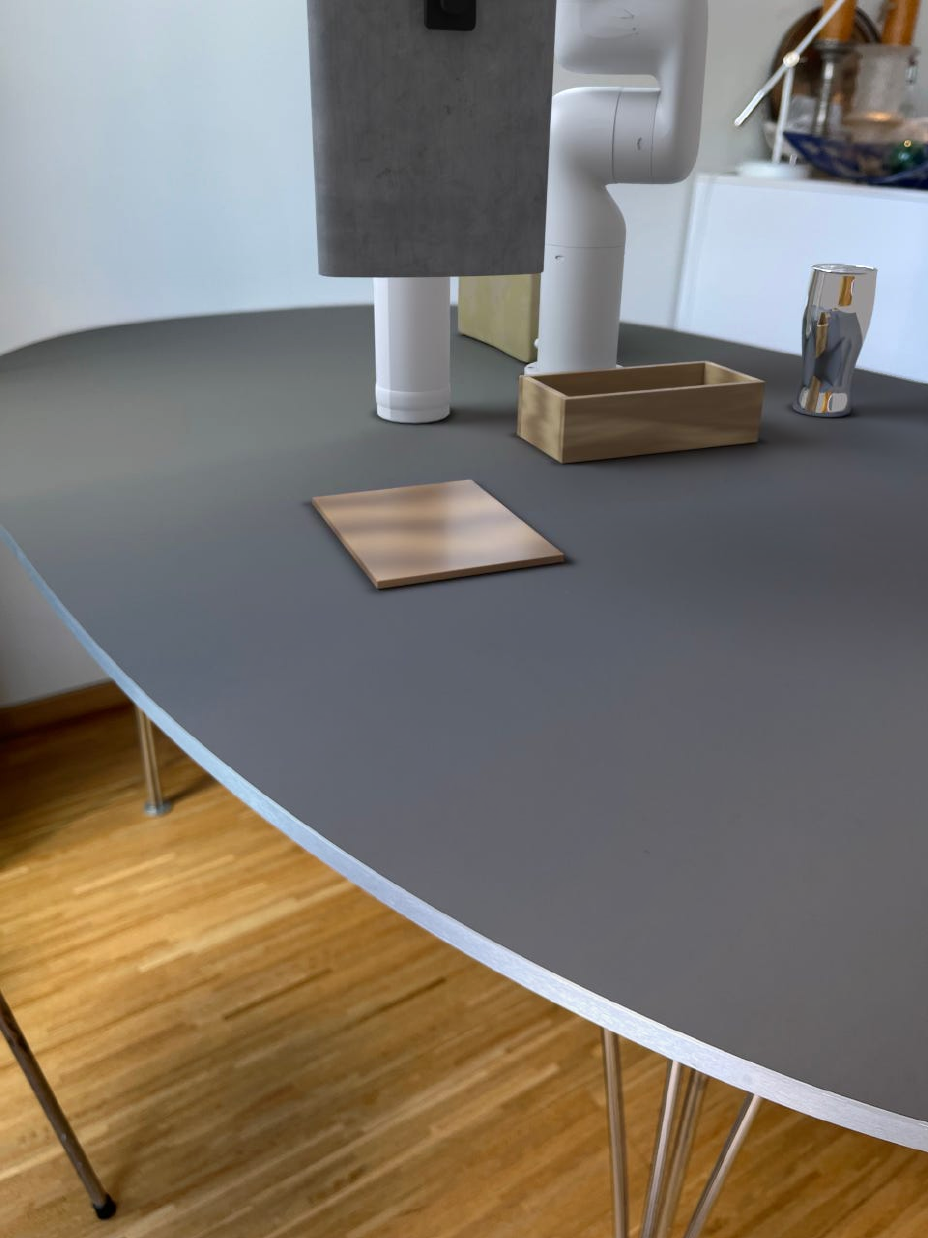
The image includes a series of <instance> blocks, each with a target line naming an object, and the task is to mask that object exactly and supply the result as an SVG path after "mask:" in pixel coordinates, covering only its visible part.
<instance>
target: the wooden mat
mask: <svg viewBox="0 0 928 1238" xmlns="http://www.w3.org/2000/svg"><path fill="white" fill-rule="evenodd" d="M311 504H312V505H313V506H314V508H315V509H316V511H317V512H318V513H319V514H320V516H321V517H322V518H323V520H324V521H325V523H326V524H327V525H328V526H329V527H330V529H331V530H332V532H333V533H334V534H335V535H336V537H337V538H338V539H339V541H340V542H341V543H342V545H343V546H344V547H345V549H346V550H347V551H348V552H349V554H350V555H351V556H352V558H353V559H354V560H355V561H356V563H357V564H358V565H359V567H360V568H361V570H362V571H363V572H364V573H365V575H366V576H367V577H368V578H369V580H370V581H371V582H372V584H373V585H374V586H375V588H376V589H377V590H382V589H388V588H395V587H401V586H408V585H415V584H421V583H430V582H435V581H442V580H449V579H457V578H463V577H469V576H477V575H483V574H484V575H485V574H489V573H496V572H503V571H509V570H516V569H517V570H519V569H525V568H530V567H531V568H532V567H537V566H544V565H550V564H558V563H564V562H565V554H564V553H563V552H562V551H561V550H559V549H558V548H557V547H556V546H555V545H553V544H552V543H551V542H549V541H548V540H547V539H546V538H544V537H543V536H542V535H541V534H539V533H538V532H537V531H536V530H535V529H533V528H532V527H531V526H530V525H529V524H527V523H526V522H524V521H523V520H522V519H521V518H519V516H517V515H516V514H515V513H513V512H512V511H511V510H509V508H507V507H506V506H504V505H503V504H502V503H501V502H500V501H499V500H497V499H496V498H495V497H493V496H492V495H491V494H490V493H489V492H487V491H486V490H485V489H484V488H482V487H481V486H480V485H478V484H477V483H476V482H474V480H472V479H462V480H453V481H445V482H434V483H427V484H419V485H417V484H416V485H410V486H401V487H400V486H399V487H393V488H383V489H377V490H376V489H375V490H374V489H373V490H365V491H357V492H356V491H355V492H347V493H340V494H339V493H338V494H330V495H321V496H313V497H312V498H311Z"/></svg>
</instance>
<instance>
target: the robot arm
mask: <svg viewBox="0 0 928 1238" xmlns="http://www.w3.org/2000/svg"><path fill="white" fill-rule="evenodd" d="M708 2H709V0H557V1H556V22H555V43H554V57H555V58H556V61H557V63H558V64H559V65H560V66H561V68H563V69H564V70H566V71H568V72H571V73H576V74H581V75H583V74H584V75H603V76H604V75H606V76H607V75H610V76H611V75H612V76H613V75H614V76H615V75H616V76H621V75H625V76H626V75H628V76H630V75H634V76H640V75H641V76H644V75H645V76H648V75H649V76H651V77H654V78H655V80H656V81H657V83H658V85H659V87H625V86H581V87H580V86H579V87H578V86H577V87H572V88H568V89H564V90H561V91H559V92H557V93H556V94H553V95H552V107H551V128H550V149H549V170H548V191H547V212H546V233H545V254H544V271H543V272H542V273H541V288H540V312H539V335H538V339H536V340H535V343H534V345H535V347H536V348H537V349H538V358H537V362H534V363H527V365H526V366H525V367H524V369H523V375H531V374H543V373H556V372H569V371H581V370H594V369H607V368H619V367H623V366H622V365H619V364H617V358H618V344H619V331H620V320H621V319H620V318H621V309H622V308H621V306H622V292H623V282H624V281H623V280H624V279H623V278H624V267H625V254H626V244H627V243H626V241H627V226H626V225H627V224H626V219H625V218H624V215H623V212H622V210H621V209H620V207H619V206H618V204H617V202H616V200H615V199H614V198H613V196H612V195H611V194H610V192H609V190H608V189H607V186H608V185H618V184H630V185H672V184H673V185H674V184H678V183H681V182H683V181H685V180H686V179H688V177H689V176H690V175H691V173H692V172H693V171H694V169H695V166H696V162H697V159H698V155H699V147H700V141H701V129H702V118H703V102H704V89H705V75H706V64H707V63H706V62H707V48H708V35H709V3H708ZM424 25H425V27H426V28H427V29H430V30H453V31H471V30H473V29H474V28H475V26H476V0H424Z"/></svg>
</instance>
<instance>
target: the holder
mask: <svg viewBox="0 0 928 1238" xmlns="http://www.w3.org/2000/svg"><path fill="white" fill-rule="evenodd" d="M518 379H519V380H518V400H517V401H518V402H517V427H516V429H517V430H516V432H517V433H516V435H517V436H518V437H520V438H521V439H522V440H524V441H526V442H527V443H529V444H531V445H532V446H534V447H535V448H537V449H538V450H540V451H541V452H543V453H544V454H546V455H548V456H549V457H551V458H552V459H554V460H555V461H557V462H558V463H560V464H572V463H582V462H590V461H598V460H608V459H617V458H626V457H635V456H644V455H651V454H652V455H653V454H662V453H671V452H680V451H688V450H696V449H697V450H698V449H704V448H705V449H706V448H714V447H715V448H717V447H724V446H732V445H733V446H734V445H742V444H750V443H757V442H758V439H759V431H760V425H761V418H762V412H763V411H762V409H763V403H764V398H765V397H764V396H765V391H766V390H765V389H766V383H767V382H766V381H764V380H762V379H759V378H756V377H754V376H751V375H749V374H746V373H743V372H741V371H737V370H735V369H732V368H729V367H726V366H723V365H721V364H718V363H716V362H713V361H710V360H697V361H684V362H671V363H660V364H647V365H633V366H622V367H619V368H607V369H594V370H581V371H569V372H556V373H543V374H531V375H524V374H521V375H519V377H518Z"/></svg>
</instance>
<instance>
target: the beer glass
mask: <svg viewBox="0 0 928 1238" xmlns="http://www.w3.org/2000/svg"><path fill="white" fill-rule="evenodd" d="M878 272H879V271H878V268H876V267H873V266H869V265H861V264H853V263H851V264H850V263H818V264H814V265H812V266H811V268H810V274H809V278H808V282H807V286H806V291H805V294H804V295H805V296H804V301H803V307H802V316H801V334H800V335H801V374H800V379H799V385H798V388H797V391H796V394H795V396H794V399H793V403H792V409H793V410H794V412H797V413H799V414H803V415H807V416H812V417H819V418H840V417H846V416H848V415H849V414H850V413H851V410H852V409H851V408H852V407H851V406H852V403H851V400H852V399H851V397H852V396H851V395H852V394H851V391H852V383H853V382H852V381H853V376H854V372H855V369H856V366H857V363H858V360H859V357H860V355H861V352H862V349H863V347H864V344H865V341H866V338H867V335H868V332H869V329H870V325H871V321H872V315H873V311H874V306H875V305H874V304H875V299H876V298H875V297H876V288H877V277H878Z"/></svg>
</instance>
